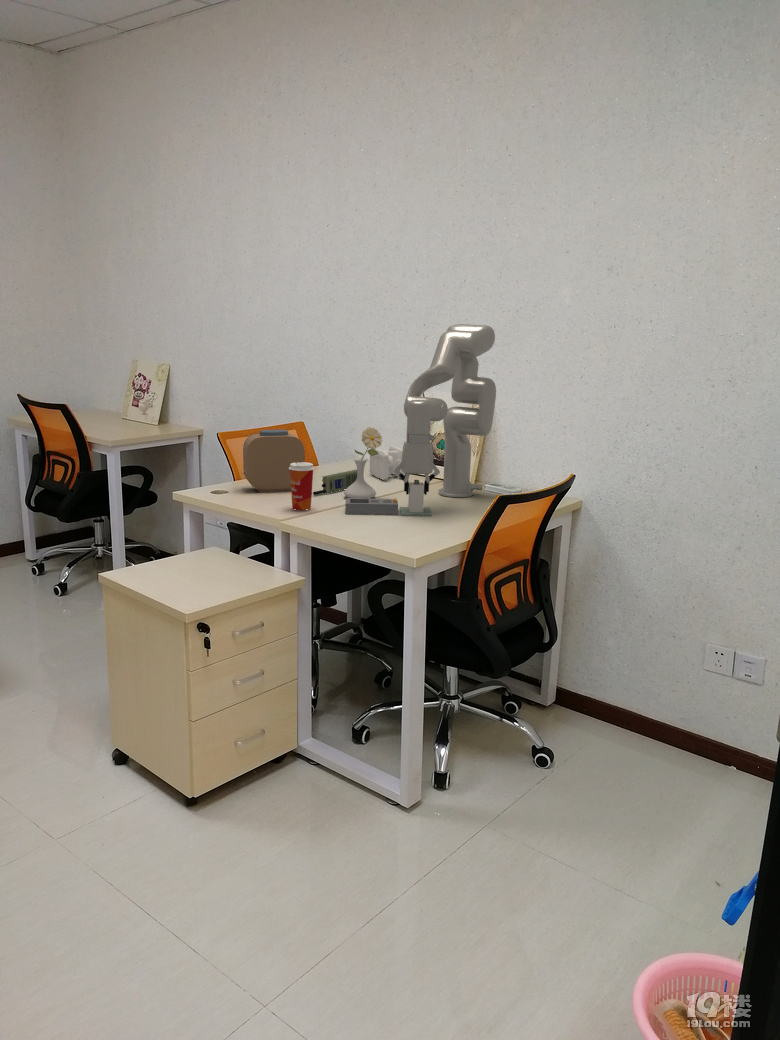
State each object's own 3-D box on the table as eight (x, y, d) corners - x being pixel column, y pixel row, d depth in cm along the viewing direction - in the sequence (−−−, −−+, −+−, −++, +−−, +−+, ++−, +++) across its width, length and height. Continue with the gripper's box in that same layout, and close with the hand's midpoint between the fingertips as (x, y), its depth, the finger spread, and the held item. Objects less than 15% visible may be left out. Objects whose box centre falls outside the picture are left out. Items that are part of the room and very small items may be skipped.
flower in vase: (345, 501, 285) (346, 429, 279) (342, 494, 296) (343, 424, 290) (383, 501, 287) (384, 429, 281) (378, 494, 298) (380, 424, 292)
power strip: (396, 509, 277) (397, 496, 276) (397, 515, 269) (398, 502, 268) (345, 508, 276) (345, 495, 275) (345, 514, 268) (345, 501, 267)
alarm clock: (299, 485, 309) (299, 427, 304) (304, 491, 300) (304, 431, 295) (243, 488, 302) (242, 429, 297) (247, 493, 294) (246, 432, 288)
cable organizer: (407, 480, 324) (408, 451, 321) (382, 482, 319) (383, 452, 316) (391, 473, 337) (392, 445, 334) (367, 475, 333) (368, 446, 330)
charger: (421, 509, 275) (422, 478, 273) (423, 512, 271) (424, 481, 268) (408, 508, 275) (409, 478, 273) (409, 512, 271) (410, 481, 268)
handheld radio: (363, 487, 311) (317, 497, 291) (356, 486, 313) (310, 496, 293) (362, 469, 309) (317, 479, 290) (355, 468, 311) (310, 478, 292)
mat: (429, 509, 278) (429, 507, 278) (431, 516, 269) (432, 514, 268) (399, 508, 278) (399, 506, 278) (401, 515, 268) (401, 514, 268)
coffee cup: (285, 506, 276) (285, 462, 272) (309, 505, 279) (309, 461, 275) (293, 512, 268) (293, 467, 265) (317, 511, 272) (317, 465, 268)
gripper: (443, 437, 271) (441, 491, 276) (391, 436, 270) (389, 490, 275) (445, 441, 264) (443, 496, 268) (392, 440, 263) (390, 495, 268)
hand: (416, 493), depth 272 cm, fingers open, 5 cm apart
